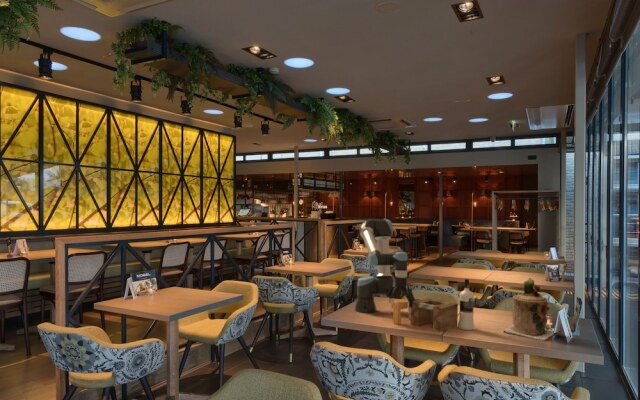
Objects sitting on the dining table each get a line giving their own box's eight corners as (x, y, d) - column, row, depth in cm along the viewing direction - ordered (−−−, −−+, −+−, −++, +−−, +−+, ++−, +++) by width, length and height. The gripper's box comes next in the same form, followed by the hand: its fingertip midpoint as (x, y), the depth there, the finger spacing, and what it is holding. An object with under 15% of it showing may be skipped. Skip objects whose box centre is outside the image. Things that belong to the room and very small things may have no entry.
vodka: (469, 326, 285) (469, 277, 286) (477, 330, 276) (478, 280, 277) (455, 326, 283) (456, 278, 284) (463, 331, 274) (464, 280, 275)
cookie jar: (501, 332, 272) (502, 278, 272) (516, 325, 291) (516, 274, 291) (546, 341, 256) (547, 283, 256) (558, 332, 274) (559, 278, 274)
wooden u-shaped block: (393, 323, 289) (393, 302, 289) (411, 318, 302) (411, 298, 302) (397, 324, 286) (397, 303, 286) (415, 319, 299) (416, 299, 299)
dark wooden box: (410, 324, 288) (410, 301, 288) (427, 319, 300) (427, 298, 301) (441, 331, 272) (441, 307, 272) (457, 326, 284) (457, 303, 284)
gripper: (381, 274, 298) (381, 307, 298) (413, 279, 280) (413, 314, 279) (389, 273, 303) (388, 306, 303) (421, 278, 285) (420, 313, 284)
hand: (400, 310), depth 291 cm, fingers open, 13 cm apart
